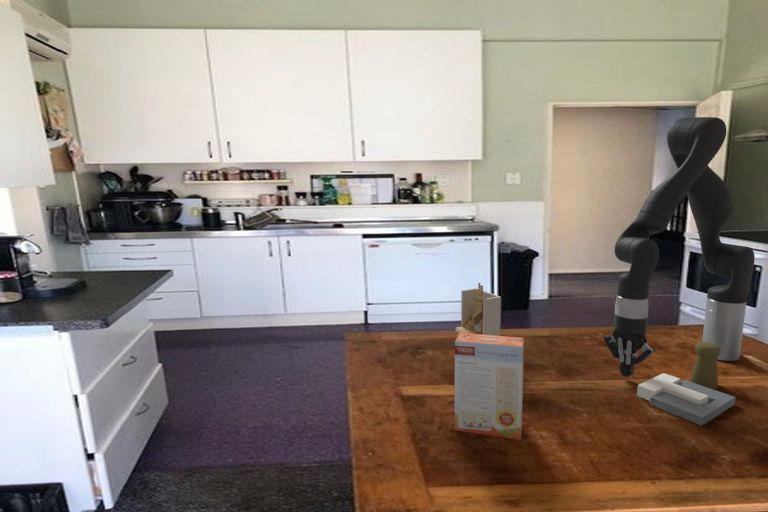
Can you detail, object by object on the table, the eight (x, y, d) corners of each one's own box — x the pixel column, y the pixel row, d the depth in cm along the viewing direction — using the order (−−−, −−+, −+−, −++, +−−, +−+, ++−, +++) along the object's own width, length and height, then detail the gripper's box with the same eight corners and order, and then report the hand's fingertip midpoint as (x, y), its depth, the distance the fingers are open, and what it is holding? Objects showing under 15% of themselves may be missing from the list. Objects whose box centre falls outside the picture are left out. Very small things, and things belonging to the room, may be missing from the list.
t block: (636, 396, 111) (637, 385, 111) (662, 383, 118) (663, 373, 117) (690, 417, 101) (691, 405, 101) (715, 402, 107) (716, 391, 107)
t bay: (649, 404, 107) (650, 397, 107) (683, 387, 115) (684, 379, 115) (701, 425, 98) (702, 417, 98) (734, 404, 106) (735, 397, 106)
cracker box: (521, 426, 99) (525, 336, 95) (520, 442, 94) (524, 347, 90) (458, 417, 104) (459, 330, 100) (453, 431, 98) (454, 340, 94)
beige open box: (474, 356, 139) (475, 275, 134) (499, 370, 129) (501, 283, 124) (453, 361, 136) (453, 278, 131) (476, 376, 125) (478, 287, 121)
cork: (723, 390, 113) (727, 348, 111) (696, 388, 114) (700, 347, 113) (711, 379, 119) (715, 340, 117) (685, 378, 120) (689, 338, 118)
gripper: (665, 316, 113) (659, 381, 116) (614, 304, 124) (610, 363, 127) (649, 322, 109) (643, 389, 112) (598, 309, 120) (594, 370, 123)
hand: (626, 375), depth 120 cm, fingers closed
